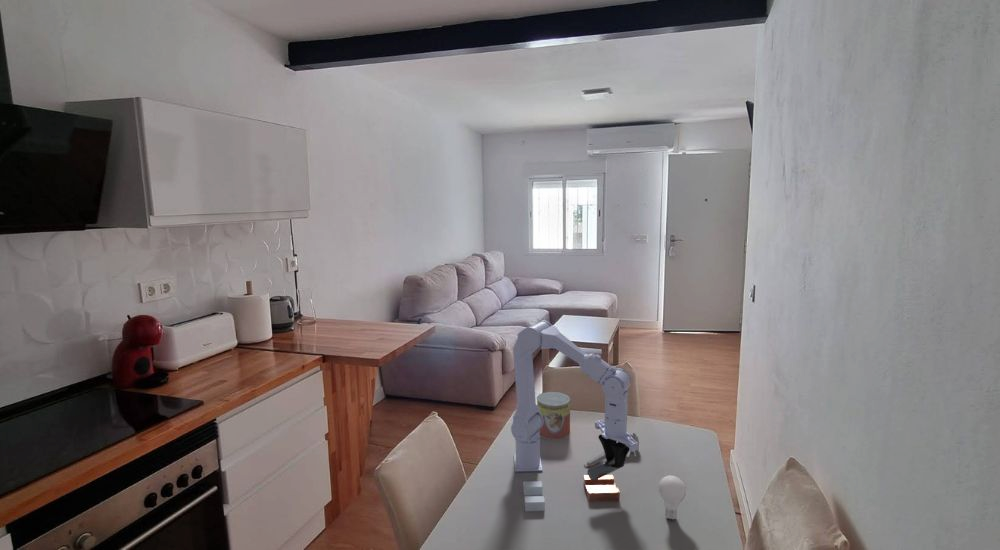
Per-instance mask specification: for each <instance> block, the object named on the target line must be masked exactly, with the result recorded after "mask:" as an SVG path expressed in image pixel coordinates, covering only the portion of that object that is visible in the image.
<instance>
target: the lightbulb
mask: <svg viewBox="0 0 1000 550" xmlns="http://www.w3.org/2000/svg"><path fill="white" fill-rule="evenodd" d="M686 488H687V487H686V485H685V483H684V482H683V481H682V479H680V478H679V477H677V476H675V475H666V476H665V475H664V477H662V478H661V479H660V481H659V482H658V492H659V495H660V497H661V498H662V500H663V502H664V504H663V505H664V507H665V513H664V515H665V517H666V519H669V520H676V519H677V518H678V517H677V513H678V512H677V511H678V508H679V506H680V504H681V503H682V502H683V501H684V499H685V497H686V495H687V489H686Z"/></svg>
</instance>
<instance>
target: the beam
mask: <svg viewBox="0 0 1000 550" xmlns="http://www.w3.org/2000/svg"><path fill="white" fill-rule="evenodd" d="M522 483H523V484H522V485H523V486H522V487H523V489H522V490H523V496H524V511H525V512H545V511H546V508H545V507H546V502H545V496H544V495H543V482H542V481H541V480H539V481H538V480H537V481H534V480H533V481H523V482H522Z"/></svg>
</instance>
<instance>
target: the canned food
mask: <svg viewBox="0 0 1000 550" xmlns="http://www.w3.org/2000/svg"><path fill="white" fill-rule="evenodd" d="M536 405H537V406H539V407H540V413H541V415H542V417H543V420H544V424H543V427H542V428H541V429H540V438H544V439H546V440H551V441H552V440H553V441H556V440H557V441H559V440H564V439H566V438H568V437H569V436H570V435H571V396H569V395H568V394H567V393H563V392H559V391H546V392H542V393H540V394H538V395H537V396H536Z"/></svg>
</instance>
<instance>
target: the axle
mask: <svg viewBox="0 0 1000 550" xmlns="http://www.w3.org/2000/svg"><path fill="white" fill-rule="evenodd" d="M623 467H625V464H624V465H623ZM619 469H622V467H620V468H616V467H615V457H614V458H612V459H610V460H608V461H607V460H606V461H603V462H602V463H600V464H596V465H594V466H592V467H591V468H589V469H587V475H588V476H589V478H590V479H591V480H592V481H595V480H597V479H599V478H601V477H603V476H605V475H610V474H612V473H613V472H615V471H618V470H619Z"/></svg>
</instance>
